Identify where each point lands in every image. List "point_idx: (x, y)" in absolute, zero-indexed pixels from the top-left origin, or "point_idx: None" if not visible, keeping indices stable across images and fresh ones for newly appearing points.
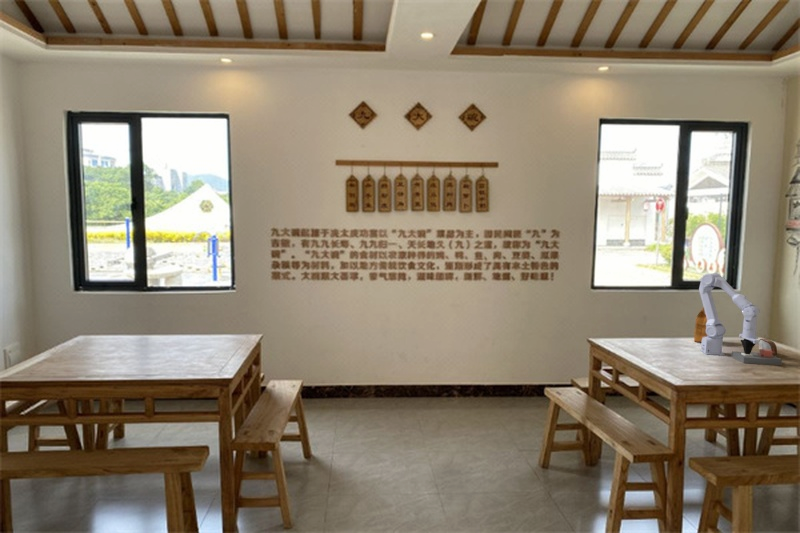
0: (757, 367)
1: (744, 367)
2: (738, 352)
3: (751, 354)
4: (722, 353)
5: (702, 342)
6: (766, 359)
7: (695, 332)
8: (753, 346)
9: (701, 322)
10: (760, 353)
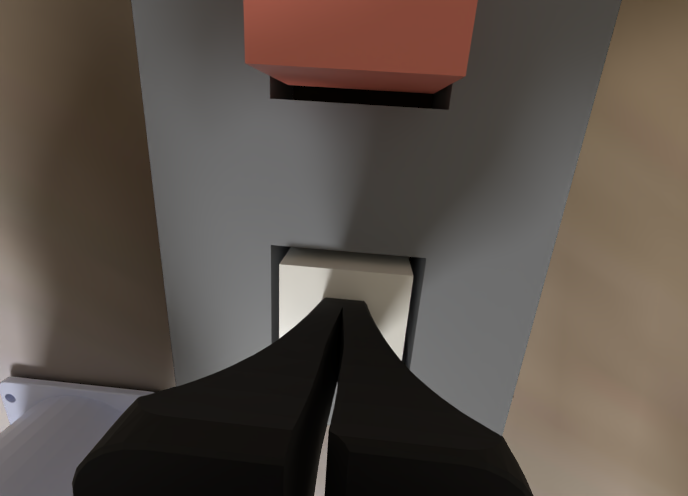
0: (659, 340)
1: (637, 466)
2: (219, 360)
3: (373, 283)
4: (126, 405)
5: None
6: (577, 135)
7: None
8: (429, 390)
9: None
10: (313, 81)
